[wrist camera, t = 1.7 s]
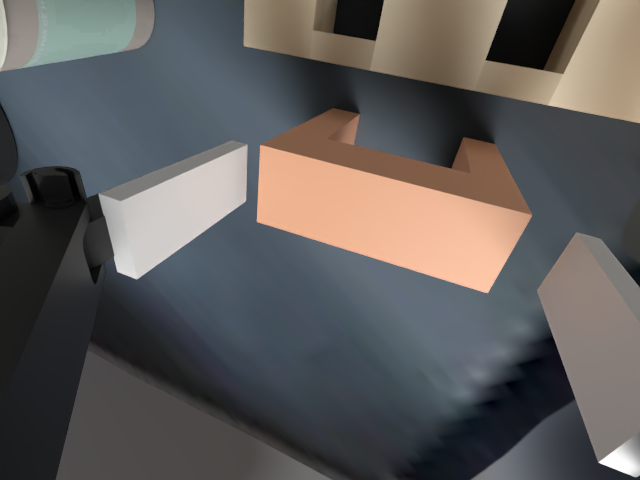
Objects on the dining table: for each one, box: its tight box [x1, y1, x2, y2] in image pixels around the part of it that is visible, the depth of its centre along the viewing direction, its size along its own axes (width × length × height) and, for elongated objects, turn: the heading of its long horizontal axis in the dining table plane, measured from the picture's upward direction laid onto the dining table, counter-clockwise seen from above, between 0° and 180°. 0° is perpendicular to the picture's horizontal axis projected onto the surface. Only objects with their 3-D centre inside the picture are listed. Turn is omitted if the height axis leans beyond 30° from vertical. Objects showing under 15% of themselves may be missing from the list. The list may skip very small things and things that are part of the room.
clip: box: [257, 108, 532, 293], centre depth 17 cm, size 10×4×10 cm, turn 81°
